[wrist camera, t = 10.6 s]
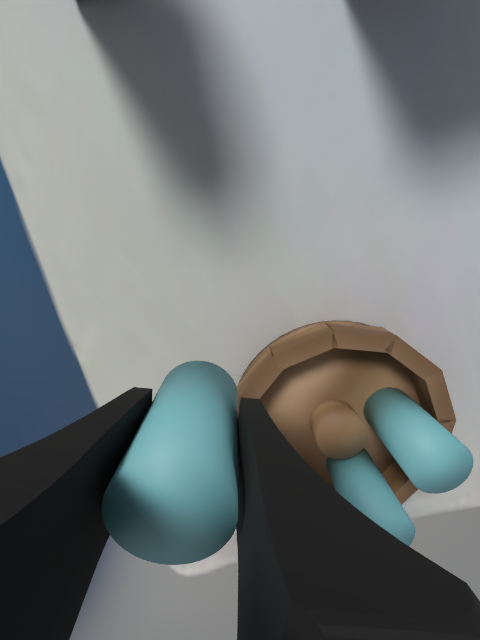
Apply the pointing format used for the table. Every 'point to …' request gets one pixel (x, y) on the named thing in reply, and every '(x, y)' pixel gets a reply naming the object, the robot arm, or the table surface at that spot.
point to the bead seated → (418, 441)
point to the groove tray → (342, 392)
